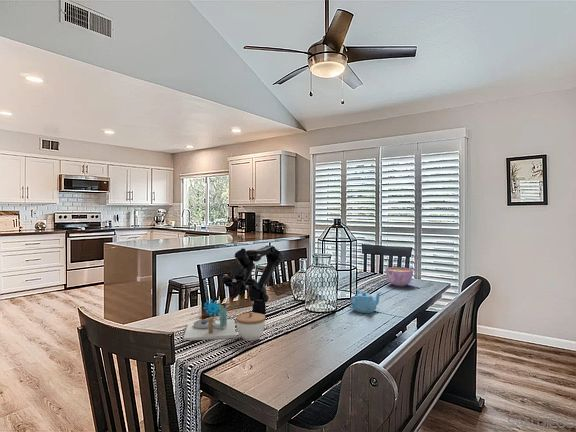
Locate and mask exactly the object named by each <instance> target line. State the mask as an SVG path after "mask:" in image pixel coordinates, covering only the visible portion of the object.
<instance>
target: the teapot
mask: <svg viewBox="0 0 576 432" xmlns="http://www.w3.org/2000/svg"><path fill="white" fill-rule="evenodd" d="M381 294H382V291H379V292H377V293H376V296H375V299H374V297H373V295H371V294H370V293H368V292H367V291H362V292H361V291H360V289H359V288H356V295H353V296H351V297H350V303H351V304H350V305H349V308H350V309H351V310H353V311H355V312H357V313H362V314H371V313H374V312H375V311H376V310H377V306H378V304H379V302H380V295H381Z"/></svg>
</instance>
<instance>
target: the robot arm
mask: <svg viewBox="0 0 576 432" xmlns="http://www.w3.org/2000/svg"><path fill="white" fill-rule="evenodd" d="M262 257H266V262H267V263H266V266H265V268H264V270H263V272H262V273H261V276H260V278H259V280H258V281H257V280H256V279H255V278H252V275H251V274H252V272H253V270H255V269H257V267H256V265H255V263H256V262H257V263H258V262H259V261H261V259H262ZM234 258H235V260H236V261H237V263H238V264H239V265H240V266H241V267H240V268H236V267H235V268H234V267H232V268H231V271H230V275H231V276H233V278H232V277H231V276H227V275H226V276H223V277H222V278H221V281H222V283H223V284H224V286H225V287H227V288H232V299H236V298H237V297H238V296H240V295H241V294H242V293H244V292H245V291H248V287H249V286H250V290H249V293H248V296H249V299H250V302H252V305H251V306H252V307H251V308H252V309H251V310H252V311H251V312H252V313H260V314H263V315H264V314H267V311H266V306H267V304H266V303H268V302H269V298H270V297H269V295H268V293H267V285H268V283H269V281H270V280H271V277H272V275H273V272H274V271H275V269H276V267H278V266H279V265H280V264H281V263H282V262H283V259H284V256H283V254H282V253H281V251H280V250H279V249H278V248H276V247H275V246H274V245H265V246H263V247H261V248H258V249H248V250H246V248H243V247H242V248H241V249H240V250H238V251H236V252H235V253H234ZM254 262H255V263H254Z"/></svg>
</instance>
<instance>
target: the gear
mask: <svg viewBox="0 0 576 432" xmlns="http://www.w3.org/2000/svg"><path fill="white" fill-rule="evenodd" d="M213 301H214V302H213ZM221 308H225V306H224V305H221V303H220V302H218V301H217V300H216V299H215V300H213V299H210V300H206V301H205V302H204V304H203V310H205V314H208V316H210V317H211V316H213V317H214V316H215V317H216V316H220V309H221Z"/></svg>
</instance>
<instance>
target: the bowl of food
mask: <svg viewBox="0 0 576 432" xmlns="http://www.w3.org/2000/svg"><path fill="white" fill-rule="evenodd" d="M384 271H385V276H386V279H387V282H389V284H391V285H393V286H394V287H405V286H406V285H409V284H410V283H411V281H412V278H413V274H414V269H413V268H411V267H410V268H409V267H402V266H400V267H399V266H395V267H394V266H391V267H389V266H388V267H386V268H384Z"/></svg>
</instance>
